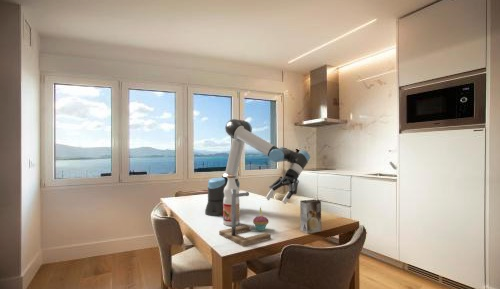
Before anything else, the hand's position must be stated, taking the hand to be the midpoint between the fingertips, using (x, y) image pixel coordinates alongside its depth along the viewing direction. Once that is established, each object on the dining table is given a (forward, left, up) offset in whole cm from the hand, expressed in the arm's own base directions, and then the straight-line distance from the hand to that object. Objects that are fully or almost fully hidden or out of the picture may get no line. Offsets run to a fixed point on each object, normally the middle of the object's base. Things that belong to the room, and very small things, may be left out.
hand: (275, 200), depth 153 cm
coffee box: (+18, +9, -15) cm, 25 cm away
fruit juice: (-19, -17, -15) cm, 29 cm away
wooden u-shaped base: (+4, -24, -14) cm, 29 cm away
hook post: (+4, -27, -12) cm, 30 cm away
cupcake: (0, -10, -15) cm, 18 cm away
